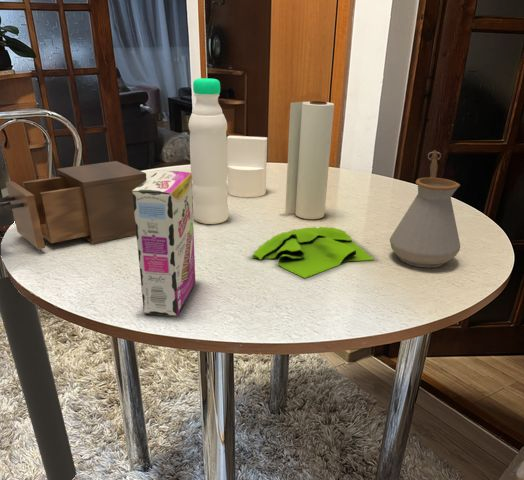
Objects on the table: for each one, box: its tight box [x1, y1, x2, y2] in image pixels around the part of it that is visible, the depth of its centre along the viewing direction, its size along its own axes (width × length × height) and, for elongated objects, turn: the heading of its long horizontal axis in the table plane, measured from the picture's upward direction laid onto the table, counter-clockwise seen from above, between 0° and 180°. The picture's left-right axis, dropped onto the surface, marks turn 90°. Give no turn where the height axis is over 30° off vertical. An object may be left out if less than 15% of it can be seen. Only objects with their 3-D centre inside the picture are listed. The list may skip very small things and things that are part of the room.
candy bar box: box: [132, 170, 196, 317], centre depth 68 cm, size 11×5×16 cm, turn 174°
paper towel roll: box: [284, 100, 335, 220], centre depth 101 cm, size 7×6×21 cm
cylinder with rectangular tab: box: [226, 135, 268, 198], centre depth 117 cm, size 9×9×12 cm
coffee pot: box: [389, 149, 461, 269], centre depth 87 cm, size 21×12×15 cm, turn 166°
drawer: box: [0, 176, 90, 250], centre depth 87 cm, size 15×10×9 cm
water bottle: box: [187, 77, 229, 225], centre depth 96 cm, size 7×7×25 cm
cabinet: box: [55, 160, 148, 245], centre depth 93 cm, size 12×12×11 cm
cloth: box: [251, 226, 375, 279], centre depth 88 cm, size 20×22×2 cm
